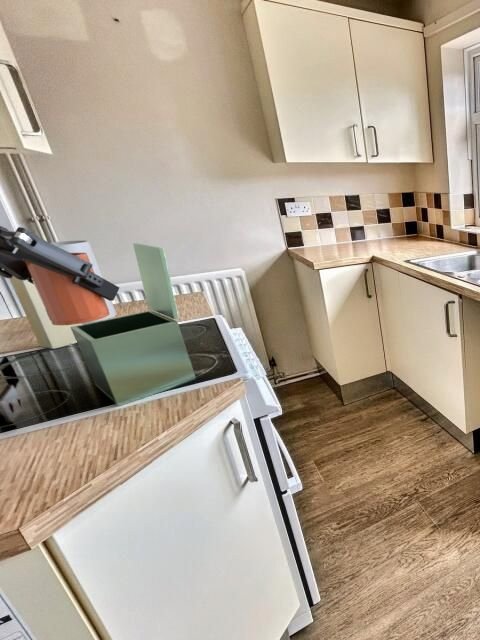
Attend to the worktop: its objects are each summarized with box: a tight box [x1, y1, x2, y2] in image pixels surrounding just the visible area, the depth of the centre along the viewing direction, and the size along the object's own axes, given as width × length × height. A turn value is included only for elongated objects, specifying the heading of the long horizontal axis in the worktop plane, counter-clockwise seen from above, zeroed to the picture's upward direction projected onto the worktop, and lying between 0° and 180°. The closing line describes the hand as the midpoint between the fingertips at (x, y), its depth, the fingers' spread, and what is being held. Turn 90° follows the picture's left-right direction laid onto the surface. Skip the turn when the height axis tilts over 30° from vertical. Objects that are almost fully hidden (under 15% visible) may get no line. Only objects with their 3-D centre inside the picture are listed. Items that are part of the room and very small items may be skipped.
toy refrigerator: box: [8, 276, 82, 350], centre depth 114 cm, size 8×7×21 cm
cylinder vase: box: [50, 239, 118, 324], centre depth 132 cm, size 12×12×25 cm
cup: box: [23, 252, 110, 325], centre depth 72 cm, size 7×7×11 cm
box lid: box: [132, 242, 180, 320], centre depth 90 cm, size 14×16×1 cm
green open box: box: [71, 309, 198, 407], centre depth 90 cm, size 14×16×14 cm
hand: (93, 293), depth 76 cm, fingers closed on cup, 7 cm apart
